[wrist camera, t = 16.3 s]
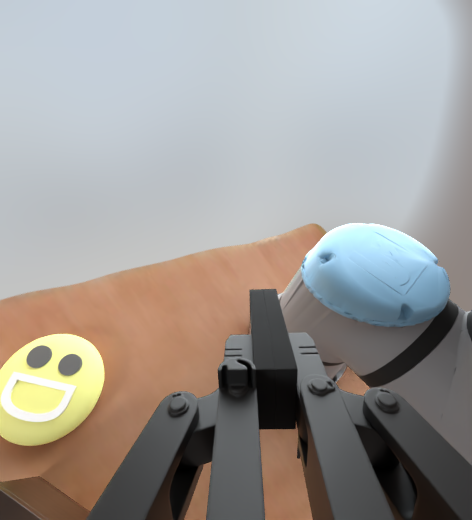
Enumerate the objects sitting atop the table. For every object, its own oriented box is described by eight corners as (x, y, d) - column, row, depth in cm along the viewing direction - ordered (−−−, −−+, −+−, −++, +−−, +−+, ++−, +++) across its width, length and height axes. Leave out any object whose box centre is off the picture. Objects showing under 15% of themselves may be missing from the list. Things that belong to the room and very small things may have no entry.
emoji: (68, 459, 28) (117, 342, 35) (-51, 432, 28) (20, 319, 34) (80, 455, 32) (123, 349, 38) (-26, 432, 31) (35, 328, 38)
